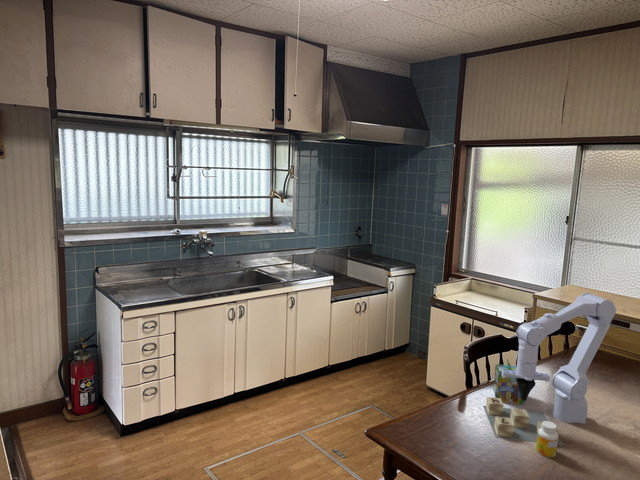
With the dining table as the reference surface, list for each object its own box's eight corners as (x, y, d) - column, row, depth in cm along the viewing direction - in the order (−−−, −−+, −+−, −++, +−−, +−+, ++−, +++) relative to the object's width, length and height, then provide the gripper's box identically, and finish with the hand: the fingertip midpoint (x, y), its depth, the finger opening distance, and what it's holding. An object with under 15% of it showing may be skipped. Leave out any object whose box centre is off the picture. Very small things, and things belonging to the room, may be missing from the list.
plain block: (524, 421, 154) (525, 409, 154) (528, 428, 150) (529, 416, 149) (510, 419, 155) (511, 408, 154) (513, 426, 151) (514, 415, 150)
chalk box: (523, 407, 166) (527, 368, 163) (496, 403, 167) (500, 364, 165) (517, 395, 175) (522, 357, 172) (492, 391, 176) (496, 354, 174)
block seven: (508, 429, 149) (510, 417, 148) (512, 437, 144) (513, 425, 144) (494, 427, 150) (495, 416, 149) (497, 435, 145) (498, 423, 144)
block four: (499, 409, 162) (500, 398, 161) (502, 415, 157) (503, 404, 157) (485, 407, 162) (487, 396, 162) (488, 414, 158) (489, 403, 157)
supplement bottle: (531, 449, 140) (535, 419, 139) (548, 449, 141) (552, 419, 139) (541, 460, 135) (545, 429, 134) (559, 460, 136) (563, 429, 134)
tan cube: (551, 434, 147) (553, 422, 146) (556, 442, 143) (558, 430, 142) (536, 432, 148) (538, 420, 147) (541, 440, 143) (542, 428, 143)
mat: (542, 414, 161) (542, 411, 161) (563, 448, 141) (564, 445, 141) (482, 408, 164) (482, 405, 164) (495, 440, 144) (495, 437, 144)
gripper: (507, 363, 148) (503, 403, 150) (555, 367, 146) (550, 407, 148) (501, 354, 155) (497, 392, 157) (547, 358, 153) (543, 396, 155)
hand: (523, 399), depth 153 cm, fingers closed
